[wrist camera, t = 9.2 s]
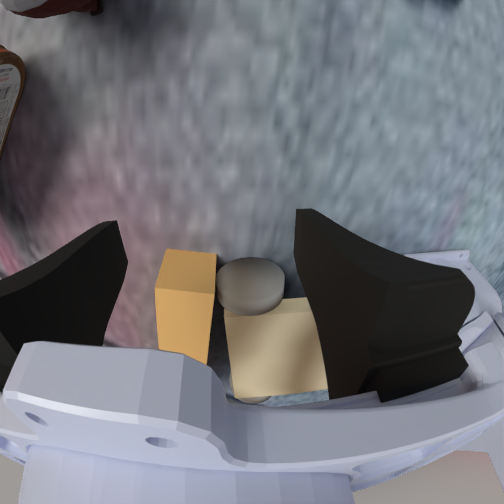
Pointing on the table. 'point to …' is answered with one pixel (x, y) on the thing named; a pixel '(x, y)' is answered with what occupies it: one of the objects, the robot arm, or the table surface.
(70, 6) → the mate gourd
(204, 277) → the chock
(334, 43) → the table surface
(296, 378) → the trolley
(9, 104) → the tin
